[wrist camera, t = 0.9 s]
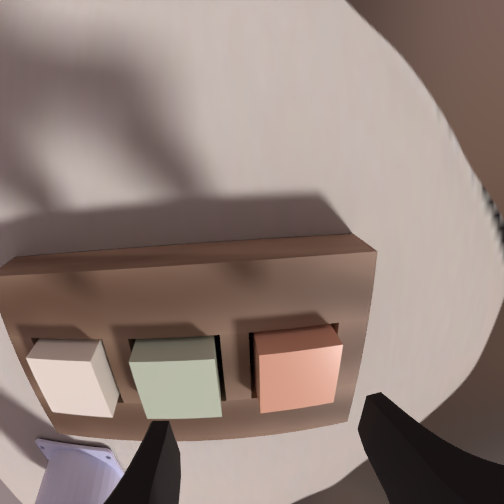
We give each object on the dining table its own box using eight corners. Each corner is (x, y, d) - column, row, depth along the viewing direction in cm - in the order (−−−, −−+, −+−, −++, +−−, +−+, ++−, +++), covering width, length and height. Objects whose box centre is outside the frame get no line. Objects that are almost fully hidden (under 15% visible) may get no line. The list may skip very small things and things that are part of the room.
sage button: (219, 380, 18) (222, 416, 15) (153, 382, 18) (147, 418, 15) (213, 324, 17) (214, 358, 14) (139, 327, 16) (128, 362, 14)
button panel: (334, 393, 22) (347, 421, 19) (68, 405, 20) (57, 433, 17) (352, 233, 18) (377, 251, 15) (14, 257, 16) (-12, 276, 13)
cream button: (122, 382, 17) (112, 417, 15) (66, 380, 17) (52, 411, 14) (105, 328, 16) (90, 361, 13) (46, 328, 16) (25, 358, 13)
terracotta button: (318, 369, 19) (333, 402, 16) (253, 377, 18) (260, 413, 15) (324, 313, 17) (343, 344, 15) (251, 321, 17) (259, 355, 14)
